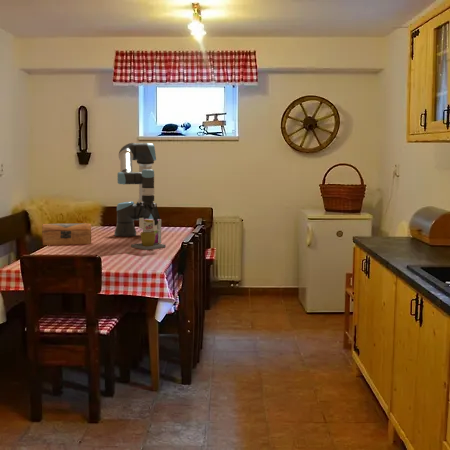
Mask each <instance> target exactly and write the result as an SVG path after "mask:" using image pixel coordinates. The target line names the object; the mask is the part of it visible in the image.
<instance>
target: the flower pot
mask: <svg viewBox="0 0 450 450" xmlns="http://www.w3.org/2000/svg"><path fill="white" fill-rule="evenodd" d="M140 239H141V241H140V242H141V243H142V245H143V246H146V247H147V246H154V241H155V232H143V231H142V232H140Z"/></svg>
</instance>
